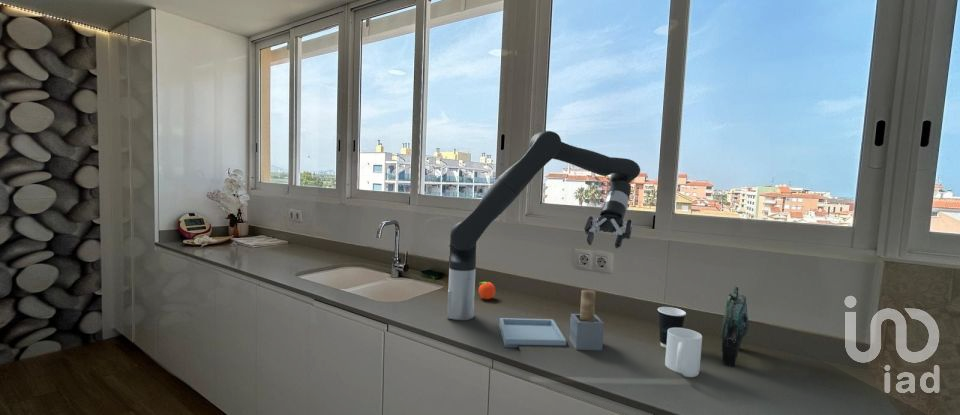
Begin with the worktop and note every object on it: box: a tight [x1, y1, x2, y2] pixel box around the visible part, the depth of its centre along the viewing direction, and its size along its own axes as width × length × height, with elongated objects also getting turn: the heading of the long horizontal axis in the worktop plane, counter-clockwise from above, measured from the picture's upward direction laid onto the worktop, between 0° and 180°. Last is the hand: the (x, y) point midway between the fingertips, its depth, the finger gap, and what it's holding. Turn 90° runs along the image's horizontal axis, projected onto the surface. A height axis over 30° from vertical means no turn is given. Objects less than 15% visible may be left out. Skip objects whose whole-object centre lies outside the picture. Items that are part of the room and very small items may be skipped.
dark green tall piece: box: [721, 286, 749, 368], centre depth 122 cm, size 20×6×20 cm, turn 144°
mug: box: [664, 327, 703, 378], centre depth 109 cm, size 12×8×10 cm
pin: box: [579, 289, 596, 322], centre depth 123 cm, size 4×4×16 cm
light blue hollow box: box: [568, 313, 605, 351], centre depth 123 cm, size 8×8×9 cm
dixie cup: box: [657, 306, 687, 349], centre depth 128 cm, size 8×8×11 cm
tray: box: [498, 317, 567, 349], centre depth 131 cm, size 18×18×2 cm
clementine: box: [478, 281, 496, 300], centre depth 169 cm, size 8×7×7 cm
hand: (602, 245), depth 131 cm, fingers open, 8 cm apart
